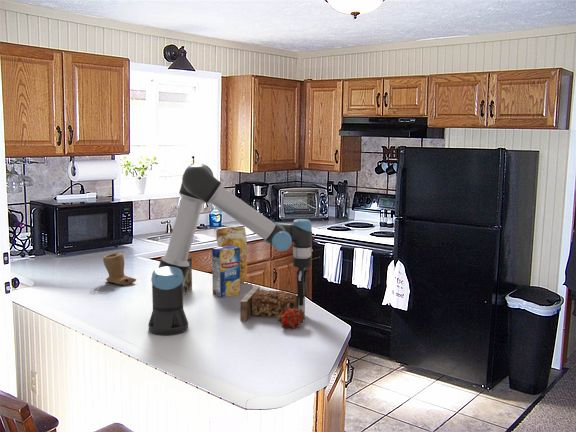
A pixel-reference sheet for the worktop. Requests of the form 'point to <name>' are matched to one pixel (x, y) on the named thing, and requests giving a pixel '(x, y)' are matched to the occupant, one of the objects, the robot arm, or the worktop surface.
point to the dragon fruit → (292, 317)
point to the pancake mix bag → (237, 239)
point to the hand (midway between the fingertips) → (301, 312)
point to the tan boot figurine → (116, 269)
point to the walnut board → (247, 304)
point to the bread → (272, 303)
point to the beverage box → (226, 271)
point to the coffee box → (188, 278)
